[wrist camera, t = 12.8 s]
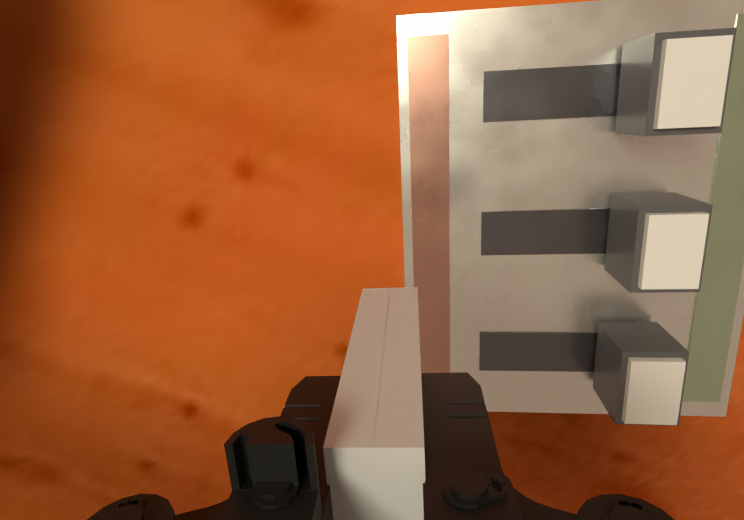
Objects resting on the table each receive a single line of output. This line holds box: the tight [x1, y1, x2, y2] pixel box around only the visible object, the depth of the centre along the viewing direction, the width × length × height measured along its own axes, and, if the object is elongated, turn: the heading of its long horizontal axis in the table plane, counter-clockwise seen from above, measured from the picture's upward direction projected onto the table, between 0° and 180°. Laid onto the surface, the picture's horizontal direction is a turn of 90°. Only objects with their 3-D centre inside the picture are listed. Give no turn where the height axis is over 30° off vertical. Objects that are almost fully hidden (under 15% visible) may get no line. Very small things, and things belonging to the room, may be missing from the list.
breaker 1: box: [615, 28, 737, 136], centre depth 21 cm, size 3×4×4 cm
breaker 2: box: [604, 192, 713, 293], centre depth 23 cm, size 3×4×4 cm
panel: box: [396, 0, 744, 417], centre depth 27 cm, size 18×22×2 cm
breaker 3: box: [593, 322, 689, 426], centre depth 25 cm, size 3×4×4 cm
